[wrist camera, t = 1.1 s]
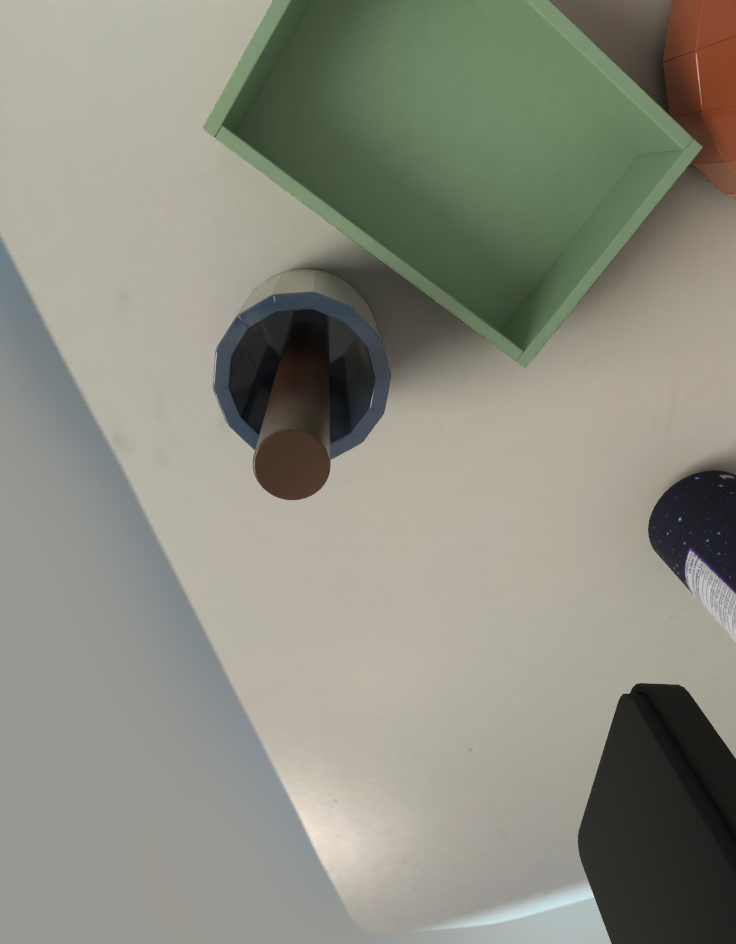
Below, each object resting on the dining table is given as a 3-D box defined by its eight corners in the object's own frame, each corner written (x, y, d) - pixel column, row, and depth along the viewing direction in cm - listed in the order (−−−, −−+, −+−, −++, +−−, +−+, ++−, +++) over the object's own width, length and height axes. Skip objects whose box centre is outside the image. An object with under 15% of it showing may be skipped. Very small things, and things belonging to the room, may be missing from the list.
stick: (276, 349, 30) (238, 475, 17) (300, 313, 29) (279, 415, 17) (313, 374, 30) (302, 513, 18) (337, 338, 30) (345, 456, 17)
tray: (221, 136, 27) (202, 128, 23) (361, -114, 24) (368, -174, 20) (499, 343, 31) (525, 368, 27) (649, 152, 28) (703, 146, 24)
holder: (210, 358, 31) (179, 405, 24) (287, 237, 29) (275, 253, 22) (325, 432, 32) (325, 493, 26) (404, 321, 31) (425, 358, 24)
